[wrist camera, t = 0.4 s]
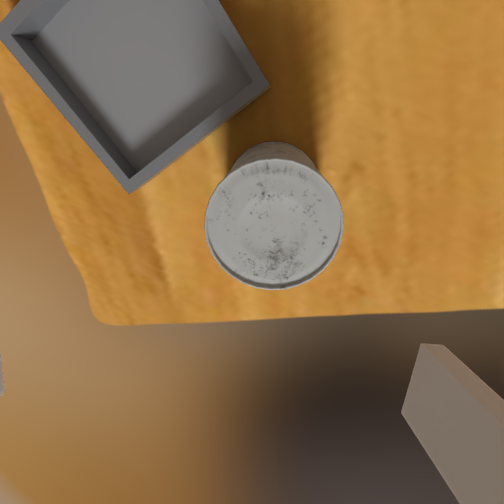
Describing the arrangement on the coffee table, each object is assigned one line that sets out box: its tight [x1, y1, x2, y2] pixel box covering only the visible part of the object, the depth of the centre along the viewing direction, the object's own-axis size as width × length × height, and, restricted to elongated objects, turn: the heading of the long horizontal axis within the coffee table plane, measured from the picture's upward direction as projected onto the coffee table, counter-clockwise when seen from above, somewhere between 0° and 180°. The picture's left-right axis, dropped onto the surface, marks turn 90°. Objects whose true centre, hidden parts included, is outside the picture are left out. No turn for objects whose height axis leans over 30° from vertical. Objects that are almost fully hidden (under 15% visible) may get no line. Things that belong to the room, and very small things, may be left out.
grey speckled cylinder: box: [204, 141, 343, 290], centre depth 28 cm, size 10×10×12 cm
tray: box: [0, 0, 270, 194], centre depth 28 cm, size 16×16×4 cm
